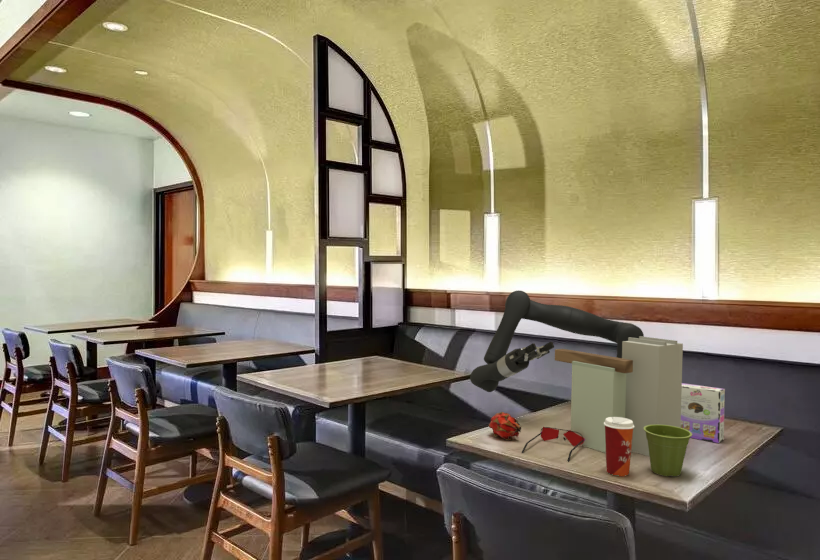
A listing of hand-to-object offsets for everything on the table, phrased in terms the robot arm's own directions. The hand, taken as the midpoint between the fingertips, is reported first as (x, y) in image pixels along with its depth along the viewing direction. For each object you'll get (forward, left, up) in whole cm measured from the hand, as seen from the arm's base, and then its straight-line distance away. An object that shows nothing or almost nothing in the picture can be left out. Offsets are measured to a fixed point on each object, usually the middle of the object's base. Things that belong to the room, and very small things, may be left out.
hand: (544, 345), depth 195 cm
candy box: (-36, +33, -28) cm, 57 cm away
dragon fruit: (+17, 0, -28) cm, 33 cm away
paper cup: (+14, +39, -28) cm, 50 cm away
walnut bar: (0, +19, -4) cm, 20 cm away
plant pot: (+3, +46, -28) cm, 54 cm away
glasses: (+14, +17, -29) cm, 36 cm away
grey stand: (-11, +32, -28) cm, 44 cm away
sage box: (0, +22, -28) cm, 35 cm away
